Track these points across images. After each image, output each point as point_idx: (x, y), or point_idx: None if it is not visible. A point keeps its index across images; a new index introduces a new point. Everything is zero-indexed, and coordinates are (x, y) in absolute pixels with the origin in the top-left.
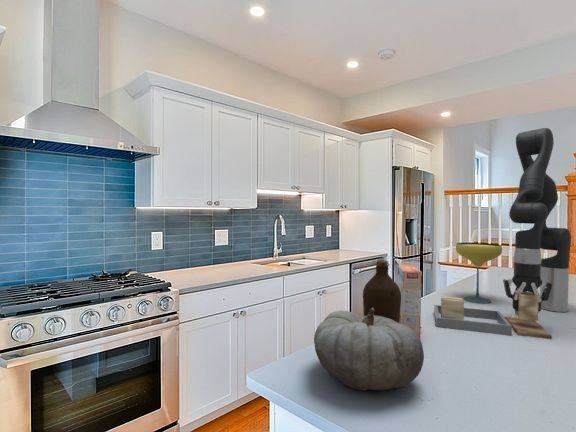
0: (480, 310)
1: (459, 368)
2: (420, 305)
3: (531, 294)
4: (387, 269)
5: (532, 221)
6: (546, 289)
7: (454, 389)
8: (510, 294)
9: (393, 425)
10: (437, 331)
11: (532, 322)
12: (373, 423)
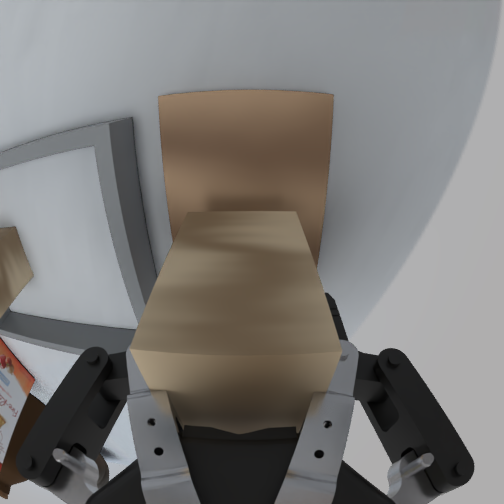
0: (29, 159)
1: (119, 437)
2: (13, 428)
3: (276, 426)
4: (9, 491)
5: None
6: (393, 463)
7: (130, 453)
8: (116, 405)
9: (116, 463)
10: (27, 344)
11: (300, 176)
12: (107, 461)
